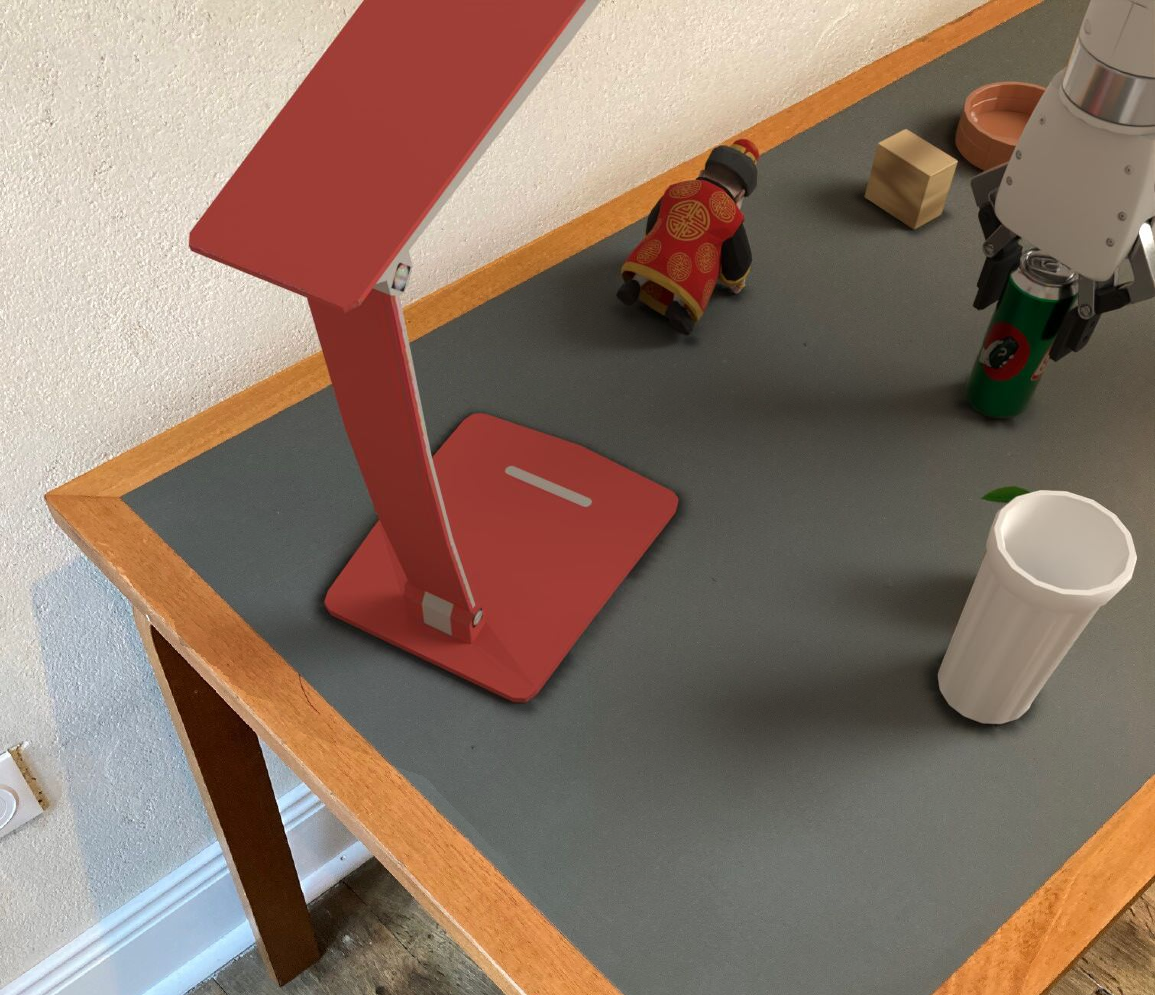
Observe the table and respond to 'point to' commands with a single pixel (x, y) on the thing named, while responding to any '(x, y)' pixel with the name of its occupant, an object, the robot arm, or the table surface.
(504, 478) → the desk lamp
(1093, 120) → the robot arm
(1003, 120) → the terracotta bowl
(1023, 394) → the soda can
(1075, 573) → the cup
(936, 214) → the wooden block
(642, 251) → the figurine
